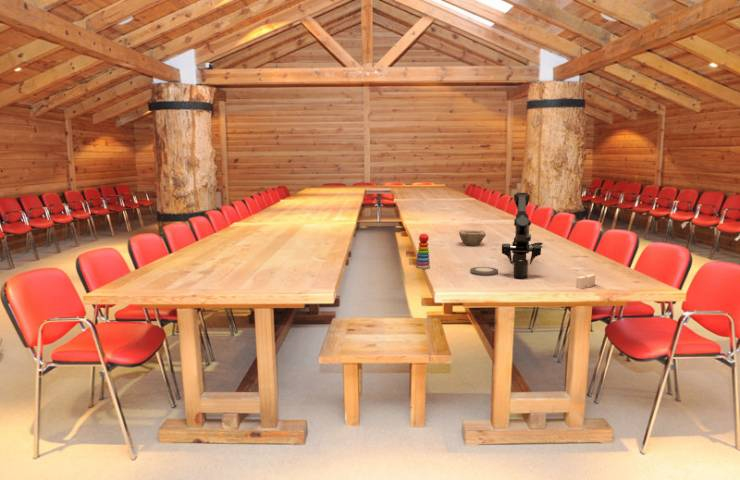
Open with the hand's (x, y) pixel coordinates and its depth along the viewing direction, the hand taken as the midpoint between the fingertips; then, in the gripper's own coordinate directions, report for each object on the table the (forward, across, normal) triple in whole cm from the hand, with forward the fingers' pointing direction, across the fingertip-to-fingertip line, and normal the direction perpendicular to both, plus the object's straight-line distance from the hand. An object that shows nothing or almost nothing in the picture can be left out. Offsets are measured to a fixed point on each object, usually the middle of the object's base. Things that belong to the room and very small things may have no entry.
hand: (520, 263), depth 267 cm
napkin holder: (+13, +28, -2) cm, 31 cm away
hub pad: (0, -18, +11) cm, 21 cm away
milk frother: (-60, +5, +70) cm, 92 cm away
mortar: (-58, -30, +68) cm, 95 cm away
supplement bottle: (+5, 0, +6) cm, 8 cm away
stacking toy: (-3, -50, +14) cm, 52 cm away
